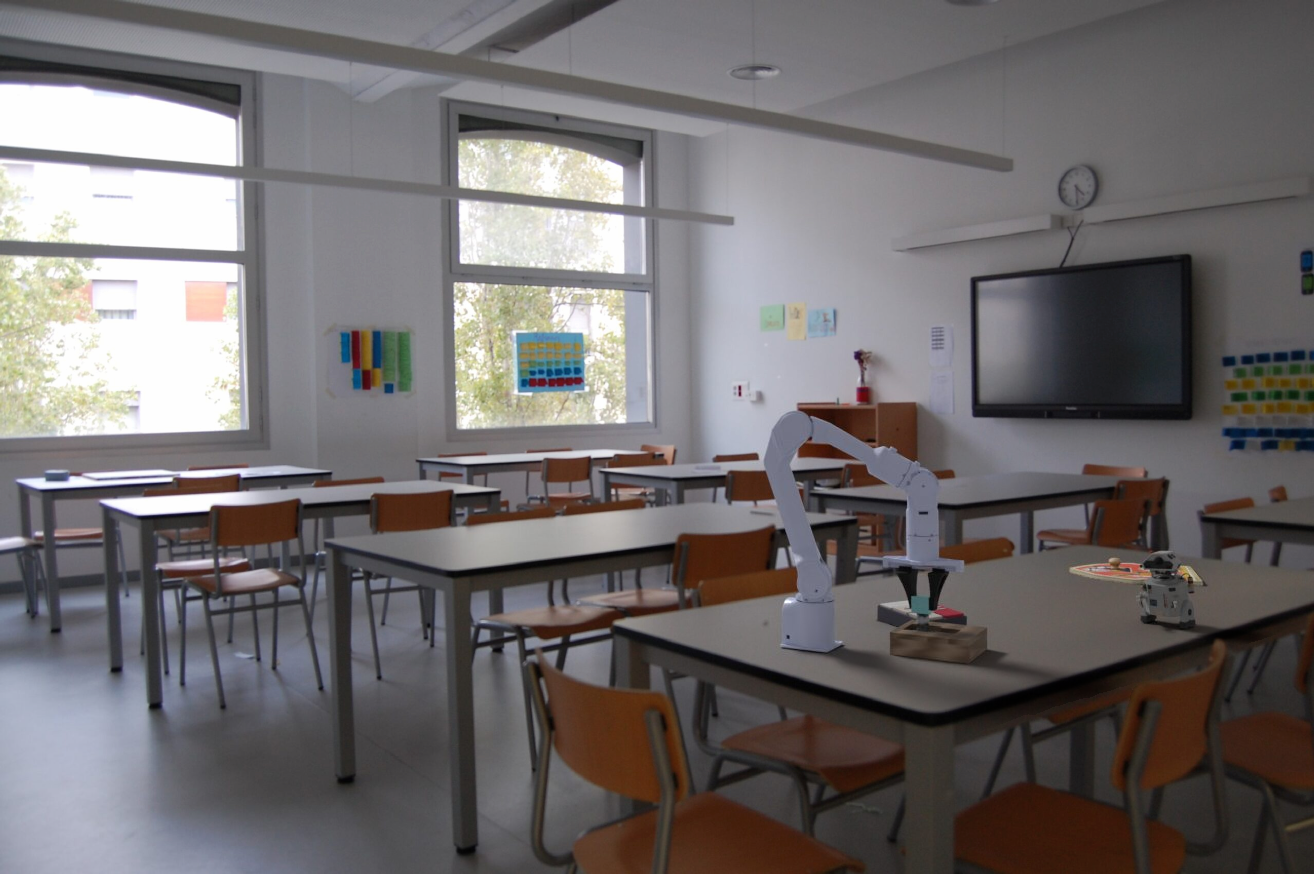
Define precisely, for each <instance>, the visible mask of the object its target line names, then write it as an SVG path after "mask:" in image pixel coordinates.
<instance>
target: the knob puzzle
mask: <svg viewBox="0 0 1314 874" xmlns="http://www.w3.org/2000/svg"><path fill="white" fill-rule="evenodd" d="M1140 565H1141V563H1135V562H1122V560H1121V558H1118V557H1110V558H1109V559H1108V563H1091V564H1084V565H1083V564H1082V565H1077V566H1073V567H1072V566H1070V567H1069V573H1070V574H1074V575H1076V574H1077V575H1076V576H1080V575H1081V576H1080V577H1084V578H1088V577H1089V579H1092V578H1094V579H1093V580H1097V579H1100V580H1099V581H1107V582H1112V581H1114V583H1120V582H1122V583H1121V584H1127V583H1129V585H1142V583H1143V581H1145V580H1146V579H1148V578H1150V577H1151V576H1152V575H1151V573H1150V570H1144V569H1143V567H1141V568H1140ZM1177 571H1178V572H1177V574H1176V576H1182V575H1183V574H1185V573H1187V574H1185V575H1183V576H1182V577H1184V578H1185V579H1186V580H1188V578H1187V577H1189V575H1190V577H1193V587H1203V586H1204V582H1203V581H1204V580H1202V579H1201V577H1200V576H1199V575H1198V574H1197V573H1196V572H1195V570H1194V569H1193V568H1192V566H1189V565H1181V566H1180V568H1179V569H1177ZM1188 574H1189V575H1188ZM1172 575H1174V573H1172ZM1187 585H1188V581H1187Z"/></svg>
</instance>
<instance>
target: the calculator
mask: <svg viewBox="0 0 1314 874" xmlns="http://www.w3.org/2000/svg"><path fill="white" fill-rule="evenodd" d="M876 614H877V615H876V617H877V618H876V620H877V621H876V622H879V623H883V624H885V625H892V626H895V627H896V628H898V627H900V626H902V625H903V624H905V623H907V622H909V621H911V620H917V613H911V609H910V608H909V603H908V599H907V600H900V601H892V602H884V603H880V604H878V605H877V613H876ZM929 622H939V623H949V624H959V625H967V624H968V616H966V615H965V614H964V612H961V611H958V610H956V609H952V608H950V607H946V606H945V605H944V606H943V605H941V604H938V607H937V610H935V611H934V612H933V613H931V614H929Z"/></svg>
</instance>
